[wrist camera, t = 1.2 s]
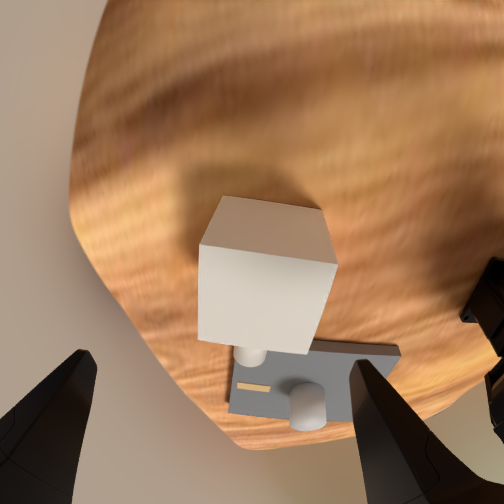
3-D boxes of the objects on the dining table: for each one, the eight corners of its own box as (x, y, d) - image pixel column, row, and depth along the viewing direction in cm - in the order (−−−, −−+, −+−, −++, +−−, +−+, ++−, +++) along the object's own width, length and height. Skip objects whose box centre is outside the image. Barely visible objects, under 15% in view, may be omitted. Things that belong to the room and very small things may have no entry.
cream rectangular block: (322, 210, 18) (338, 264, 13) (292, 325, 23) (292, 389, 18) (223, 195, 18) (199, 244, 13) (214, 314, 23) (198, 376, 18)
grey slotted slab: (398, 346, 23) (411, 388, 19) (351, 413, 30) (355, 448, 26) (239, 330, 24) (231, 377, 20) (229, 403, 30) (223, 440, 26)
